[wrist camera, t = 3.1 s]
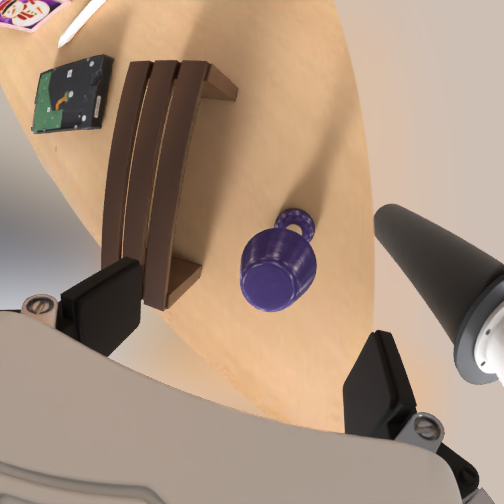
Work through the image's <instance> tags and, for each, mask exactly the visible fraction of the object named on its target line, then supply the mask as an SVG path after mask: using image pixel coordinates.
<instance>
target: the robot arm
mask: <svg viewBox="0 0 504 504" xmlns="http://www.w3.org/2000/svg"><path fill="white" fill-rule="evenodd" d="M142 271H143V267H142V265H140V262H139V260H136V259H133V258H130V257H127V256H126V257H123V258H122V259H120V260H118V261H116V262H115V263H113V264H111V265H109V266H107V267H106V268H104V269H102V270H101V271H99V272H97V273H96V274H94V275H92V276H90V277H89V278H87V279H85V280H83V281H82V282H80V283H78V284H77V285H75V286H73V287H72V288H70V289H68V290H67V291H65V292H63V293H62V294H61V301H60V302H57V300H56V299H55V298H54V297H52V296H49V295H45V294H38V295H34V296H31V297H29V298H28V299H26V300H25V301H24V303H23V305H22V309H21V310H0V504H495V503H494V502H493V501H492V499H491V498H490V497H489V496H488V494H487V493H486V491H485V490H484V489H483V488H481V489H478V488H477V487H478V485H479V475H478V472H477V470H476V469H475V468H474V467H473V466H472V465H471V464H470V463H468V462H467V461H466V460H464V459H463V458H462V457H460V456H459V455H458V454H456V453H455V452H454V451H452V450H451V449H450V448H449V447H447V446H446V445H444V444H443V443H442V440H443V438H444V434H445V432H444V427H443V425H442V423H441V422H440V421H439V420H438V419H437V418H436V417H435V416H433V415H431V414H429V413H425V412H419V413H417V411H416V406H417V404H416V401H415V398H414V395H413V392H412V389H411V386H410V383H409V380H408V377H407V374H406V371H405V368H404V366H403V363H402V360H401V357H400V354H399V352H398V349H397V347H396V344H395V341H394V339H393V336H392V334H391V333H389V332H385V331H381V330H377V331H376V332H375V333H374V332H372V333H371V334H370V335H369V337H368V339H367V341H366V343H365V345H364V347H363V349H362V351H361V353H360V355H359V357H358V359H357V361H356V363H355V364H354V366H353V368H352V370H351V372H350V373H349V375H348V377H347V379H346V381H345V383H344V385H343V403H344V422H345V434H344V433H337V432H331V431H325V430H319V429H314V428H309V427H304V426H299V425H294V424H290V423H286V422H281V421H277V420H273V419H269V418H265V417H262V416H258V415H254V414H251V413H247V412H243V411H240V410H237V409H234V408H230V407H227V406H224V405H221V404H218V403H215V402H212V401H209V400H206V399H203V398H200V397H198V396H195V395H192V394H189V393H187V392H184V391H181V390H179V389H176V388H174V387H171V386H169V385H166V384H164V383H161V382H159V381H157V380H154V379H152V378H150V377H148V376H145V375H143V374H141V373H138V372H136V371H134V370H132V369H130V368H128V367H126V366H123V365H121V364H119V363H117V362H115V361H113V360H111V359H109V358H107V357H108V356H109V355H110V354H111V353H112V352H113V351H114V350H115V349H116V348H117V347H118V346H119V345H120V344H121V343H122V342H123V341H124V340H125V339H126V338H127V337H128V336H129V335H130V334H131V333H132V332H133V331H134V330H135V329H136V328H137V327H138V325H139V323H140V314H141V310H140V309H141V287H142ZM474 356H475V361H476V363H477V365H478V367H479V368H480V369H481V370H482V371H483V372H485V373H496V375H497V376H498V378H499V380H500V381H501V383H502V385H503V386H504V301H503V302H502V303H501V304H500V305H499V306H498V307H496V309H495V310H494V311H493V312H492V313H491V314H490V316H489V317H488V319H487V320H486V321H485V323H484V325H483V327H482V329H481V331H480V333H479V335H478V337H477V341H476V344H475V351H474Z"/></svg>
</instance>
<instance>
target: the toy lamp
mask: <svg viewBox="0 0 504 504" xmlns="http://www.w3.org/2000/svg"><path fill="white" fill-rule="evenodd" d="M314 232H315V226H314V222H313V220H312V218H311V217H310V215H309V214H308V213H306V212H305V211H303V210H300V209H293V208H292V209H288V210H285V211H283V212H282V213H281V214H280V215H279V216H278V217H277V219H276V221H275V225H274V228H271V229H267V230H264V231H262V232H260V233H258V234H256V235H255V236H254V237H253V238H252V239H251V240H250V241H249V242H248V243H247V245H246V246H245V249H244V251H243V254H242V257H241V267H240V286H241V290H242V293H243V295H244V297H245V298H246V300H247V301H248V302H249V303H250V304H251V305H252V306H254V307H255V308H257V309H259V310H262V311H266V312H276V311H281V310H283V309H285V308H287V307H289V306H290V305H292V304H293V303H294V302H295V301H296V300H297V299H298V298H299V297H301V295H303V294H304V293H305V292H306V291H307V290H308V288H309V287H310V285H311V284H312V282H313V280H314V277H315V274H316V267H317V264H316V257H315V254H314V251H313V249H312V247H311V245H310V244H309V242H310V241H311V240H312V238H313V236H314Z"/></svg>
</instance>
